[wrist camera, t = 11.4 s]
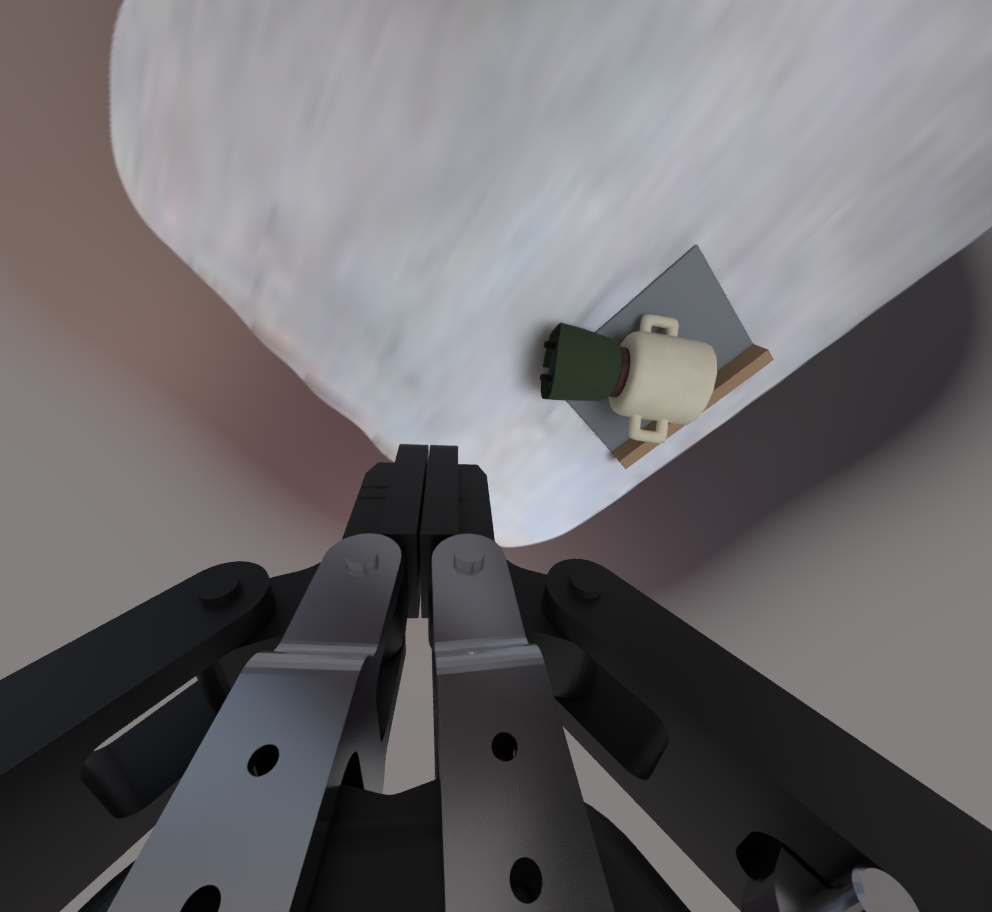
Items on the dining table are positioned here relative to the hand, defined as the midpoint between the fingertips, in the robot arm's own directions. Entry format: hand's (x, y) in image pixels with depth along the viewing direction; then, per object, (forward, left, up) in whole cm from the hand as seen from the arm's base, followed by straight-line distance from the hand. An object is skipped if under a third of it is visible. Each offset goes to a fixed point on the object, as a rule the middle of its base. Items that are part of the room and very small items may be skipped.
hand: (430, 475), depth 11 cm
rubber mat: (+16, +10, -27) cm, 33 cm away
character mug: (+8, +3, -24) cm, 25 cm away
